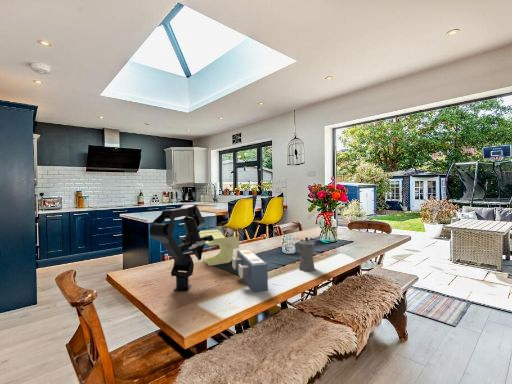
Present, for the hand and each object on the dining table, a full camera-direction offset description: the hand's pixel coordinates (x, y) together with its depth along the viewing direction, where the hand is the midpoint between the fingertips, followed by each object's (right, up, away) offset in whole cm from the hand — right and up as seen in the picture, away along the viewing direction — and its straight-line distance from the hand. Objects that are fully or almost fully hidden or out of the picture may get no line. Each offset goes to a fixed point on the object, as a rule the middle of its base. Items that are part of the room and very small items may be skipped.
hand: (199, 260), depth 134 cm
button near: (+24, -6, -6) cm, 25 cm away
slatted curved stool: (+4, -10, +37) cm, 39 cm away
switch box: (+26, -11, +2) cm, 28 cm away
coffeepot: (+57, -10, +20) cm, 61 cm away
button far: (+19, -6, +7) cm, 21 cm away
